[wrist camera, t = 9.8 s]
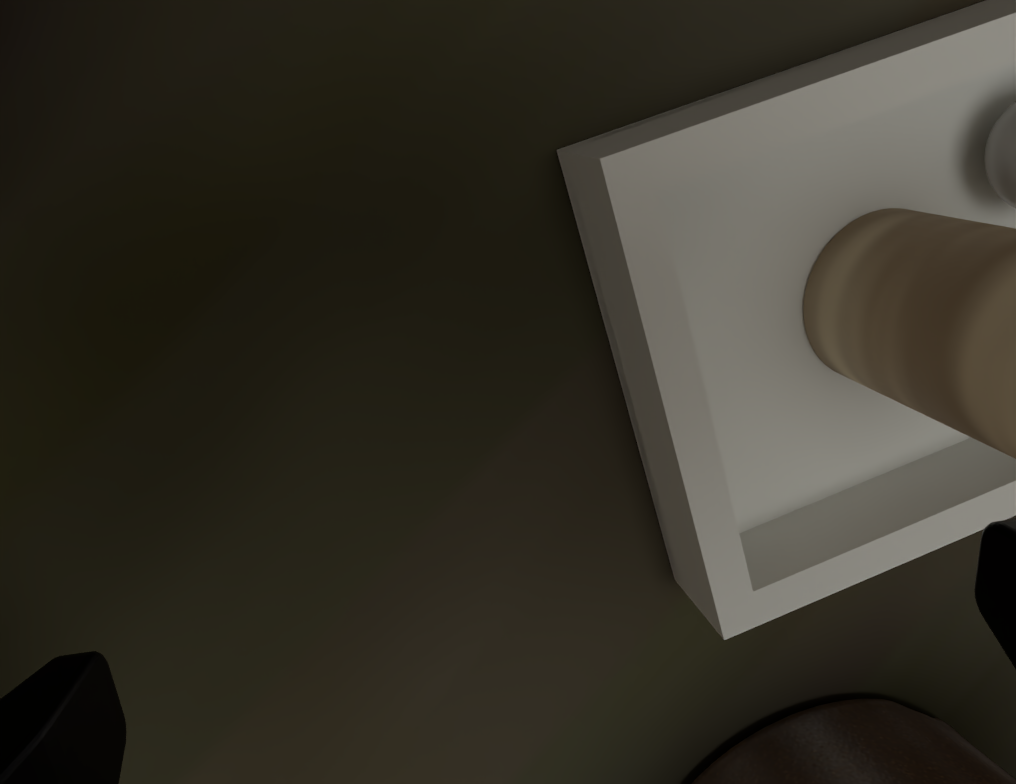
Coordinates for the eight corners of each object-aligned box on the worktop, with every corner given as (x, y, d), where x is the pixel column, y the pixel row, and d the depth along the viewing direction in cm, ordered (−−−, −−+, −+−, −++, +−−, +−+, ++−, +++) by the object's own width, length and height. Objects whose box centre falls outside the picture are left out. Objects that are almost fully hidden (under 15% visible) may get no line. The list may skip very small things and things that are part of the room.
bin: (674, 579, 25) (724, 640, 22) (556, 149, 21) (599, 158, 18) (1107, 399, 27) (1203, 434, 24) (1083, -34, 22) (1198, -52, 20)
